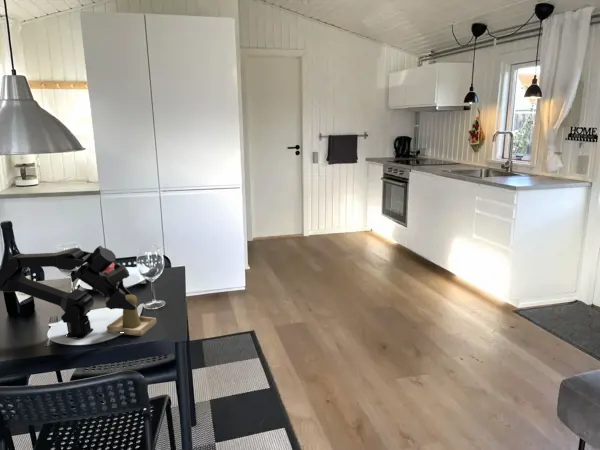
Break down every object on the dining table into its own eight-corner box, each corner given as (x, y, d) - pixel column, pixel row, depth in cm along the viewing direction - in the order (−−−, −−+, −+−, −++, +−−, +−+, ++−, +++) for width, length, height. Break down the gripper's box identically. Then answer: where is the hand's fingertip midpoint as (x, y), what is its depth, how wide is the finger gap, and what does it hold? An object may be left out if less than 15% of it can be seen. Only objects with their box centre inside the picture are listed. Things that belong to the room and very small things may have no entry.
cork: (122, 322, 159) (119, 293, 156) (140, 319, 161) (137, 291, 158) (122, 330, 153) (118, 300, 150) (141, 327, 155) (138, 298, 153)
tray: (107, 331, 154) (106, 326, 154) (124, 319, 163) (123, 314, 163) (141, 336, 151) (140, 330, 151) (156, 323, 160) (156, 317, 160)
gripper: (113, 269, 141) (153, 295, 148) (111, 251, 157) (147, 276, 164) (88, 296, 140) (130, 322, 147) (89, 276, 156) (126, 300, 163)
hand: (134, 303), depth 155 cm, fingers open, 9 cm apart
